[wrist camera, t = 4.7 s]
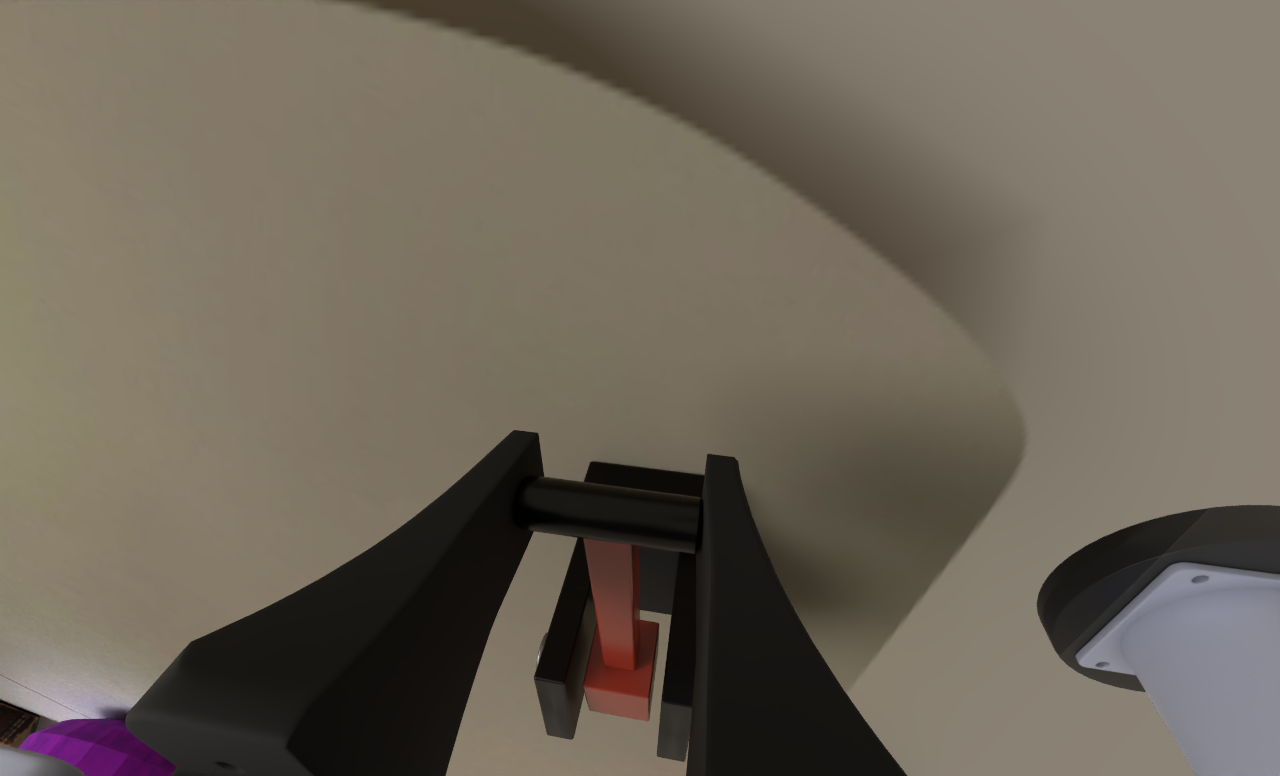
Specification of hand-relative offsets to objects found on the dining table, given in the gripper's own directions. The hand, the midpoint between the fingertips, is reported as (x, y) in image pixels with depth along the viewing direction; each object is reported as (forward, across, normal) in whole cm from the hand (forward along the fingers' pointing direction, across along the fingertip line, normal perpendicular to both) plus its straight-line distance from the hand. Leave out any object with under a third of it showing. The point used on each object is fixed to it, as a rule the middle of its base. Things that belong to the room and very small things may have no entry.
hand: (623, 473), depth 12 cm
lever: (+1, 0, +5) cm, 5 cm away
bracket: (+6, 0, +10) cm, 11 cm away
